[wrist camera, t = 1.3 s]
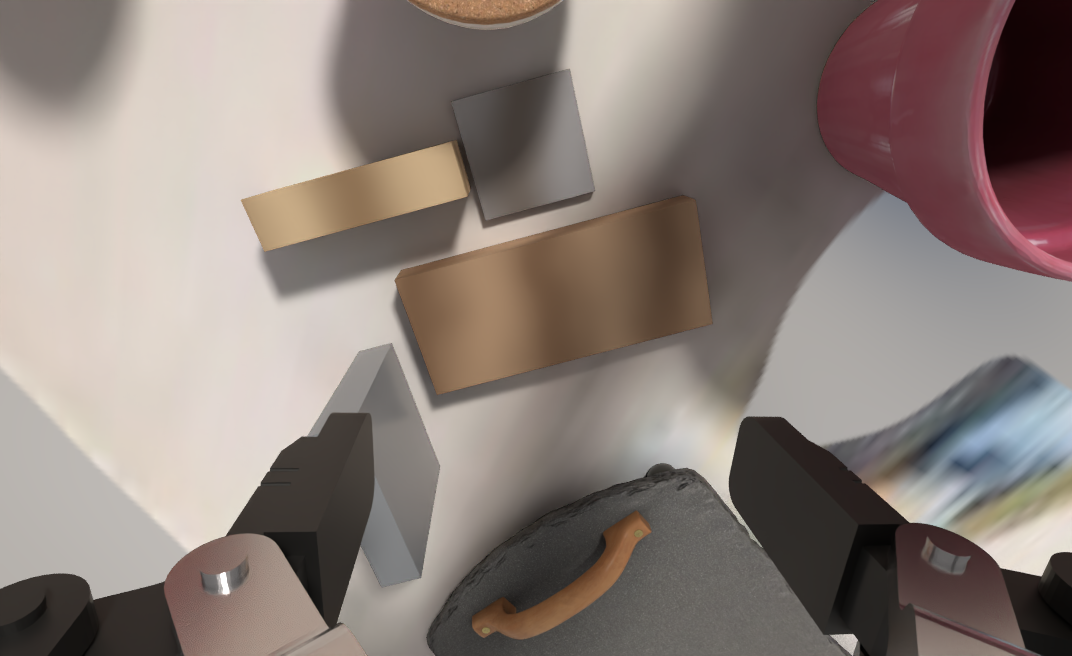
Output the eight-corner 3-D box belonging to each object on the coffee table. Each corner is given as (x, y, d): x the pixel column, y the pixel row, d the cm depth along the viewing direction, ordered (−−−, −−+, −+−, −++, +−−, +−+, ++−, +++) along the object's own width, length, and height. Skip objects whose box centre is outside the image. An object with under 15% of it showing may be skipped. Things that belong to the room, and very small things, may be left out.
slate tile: (391, 342, 31) (351, 425, 22) (440, 466, 34) (420, 577, 26) (356, 352, 31) (303, 437, 22) (408, 474, 34) (378, 588, 26)
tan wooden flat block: (682, 195, 29) (695, 200, 27) (700, 311, 31) (712, 323, 29) (401, 270, 29) (394, 280, 27) (440, 379, 32) (437, 394, 30)
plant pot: (1053, -116, 24) (1574, -340, 13) (1026, 184, 30) (1379, 226, 18) (752, -28, 25) (981, -165, 13) (777, 252, 30) (959, 336, 18)
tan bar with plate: (568, 69, 26) (577, 62, 23) (593, 189, 28) (605, 198, 25) (256, 156, 27) (222, 161, 23) (304, 267, 29) (280, 285, 26)
